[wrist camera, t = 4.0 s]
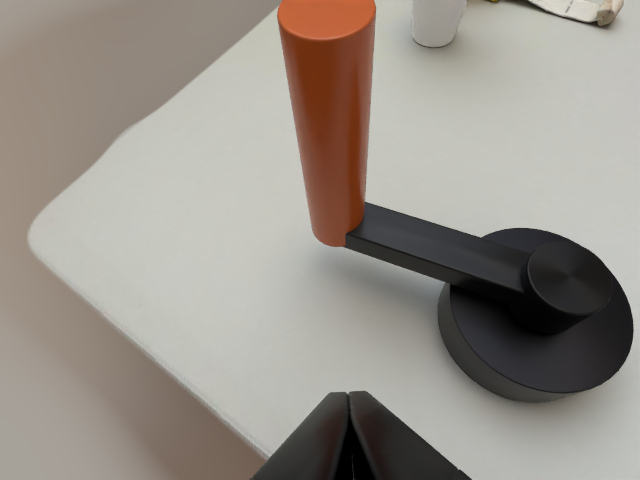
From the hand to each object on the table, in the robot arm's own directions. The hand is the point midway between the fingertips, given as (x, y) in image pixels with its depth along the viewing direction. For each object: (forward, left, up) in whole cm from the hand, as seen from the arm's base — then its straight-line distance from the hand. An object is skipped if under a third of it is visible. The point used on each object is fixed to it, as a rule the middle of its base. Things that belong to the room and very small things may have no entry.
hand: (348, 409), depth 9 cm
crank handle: (+6, -6, -8) cm, 12 cm away
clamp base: (+3, -10, -12) cm, 16 cm away
